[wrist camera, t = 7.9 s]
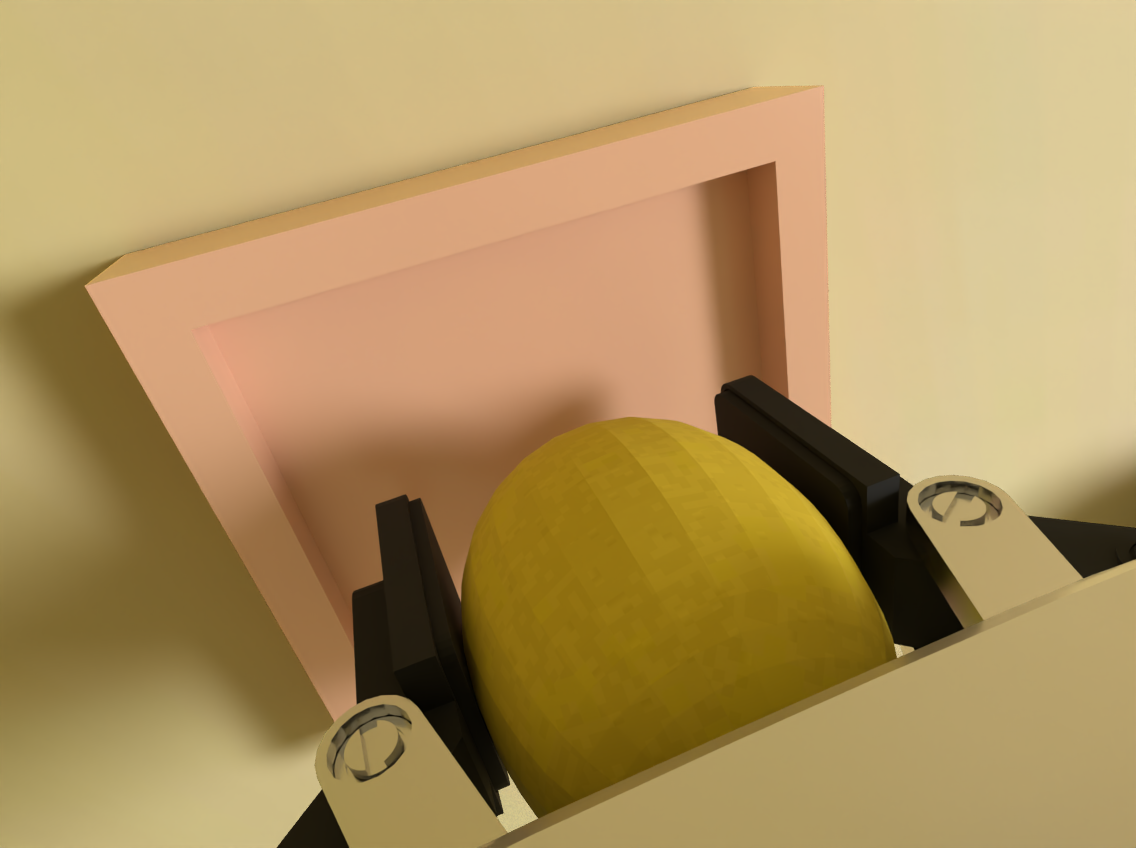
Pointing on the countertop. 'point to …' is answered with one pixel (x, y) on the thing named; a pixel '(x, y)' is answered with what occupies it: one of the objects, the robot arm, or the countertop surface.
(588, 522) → the lemon
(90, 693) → the countertop surface
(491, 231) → the dish
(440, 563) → the robot arm
